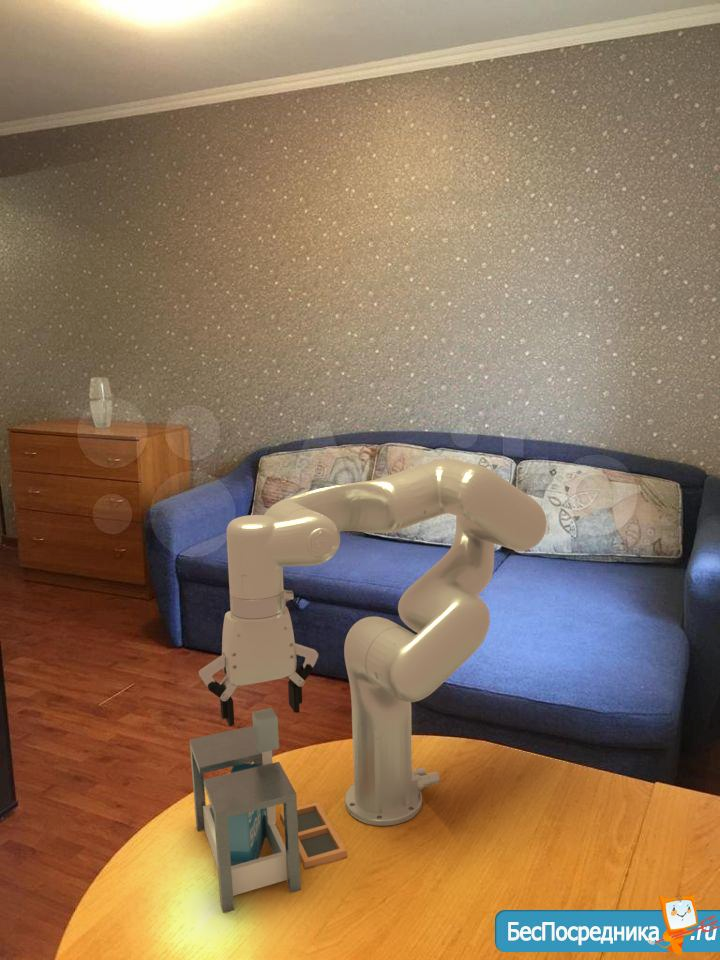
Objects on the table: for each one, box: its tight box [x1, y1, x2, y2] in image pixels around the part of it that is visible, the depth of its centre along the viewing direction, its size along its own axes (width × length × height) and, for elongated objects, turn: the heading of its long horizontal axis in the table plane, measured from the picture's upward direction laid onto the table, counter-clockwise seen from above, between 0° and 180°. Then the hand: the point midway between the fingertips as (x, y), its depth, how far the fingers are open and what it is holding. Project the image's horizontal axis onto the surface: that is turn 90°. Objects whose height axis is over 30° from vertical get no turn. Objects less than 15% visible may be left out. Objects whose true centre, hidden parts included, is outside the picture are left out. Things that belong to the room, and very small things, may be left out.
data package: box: [228, 763, 266, 866], centre depth 115 cm, size 12×4×12 cm, turn 175°
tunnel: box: [189, 725, 302, 914], centre depth 115 cm, size 11×20×15 cm, turn 22°
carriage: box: [203, 707, 287, 897], centre depth 114 cm, size 10×16×22 cm, turn 22°
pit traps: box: [279, 801, 348, 870], centre depth 120 cm, size 6×13×1 cm, turn 22°
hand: (262, 715), depth 113 cm, fingers open, 9 cm apart
